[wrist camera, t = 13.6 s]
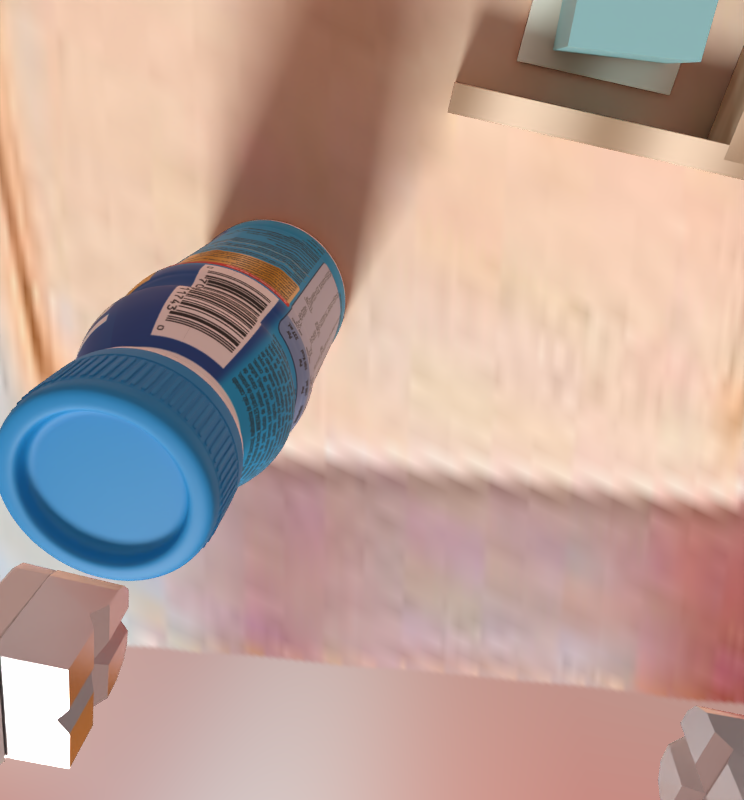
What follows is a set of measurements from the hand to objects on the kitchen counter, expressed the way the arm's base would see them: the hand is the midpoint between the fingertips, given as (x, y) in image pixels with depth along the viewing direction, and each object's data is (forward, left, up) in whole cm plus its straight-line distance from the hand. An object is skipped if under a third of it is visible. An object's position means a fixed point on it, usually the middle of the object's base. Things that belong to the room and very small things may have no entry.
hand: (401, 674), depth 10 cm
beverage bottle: (-8, -5, -29) cm, 30 cm away
